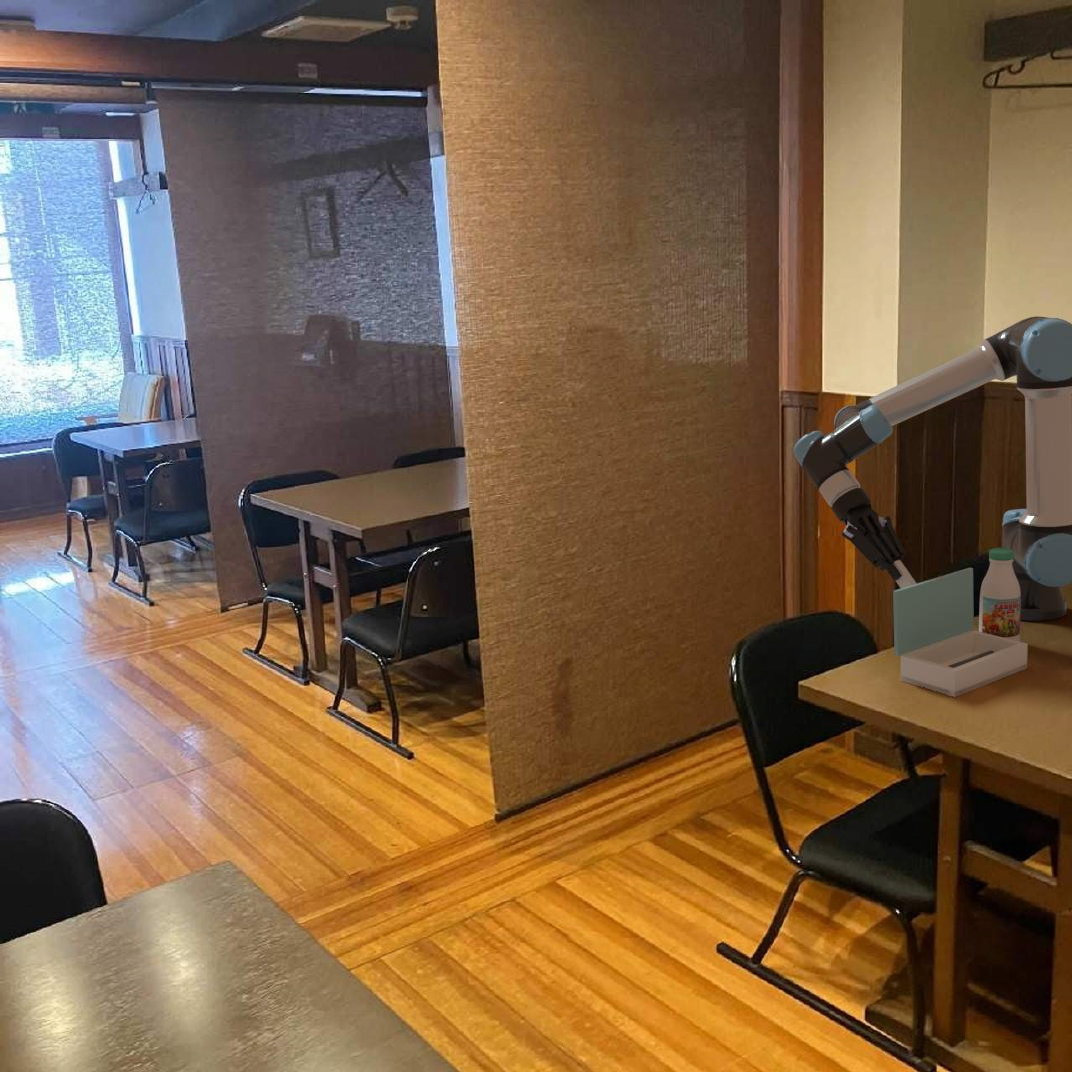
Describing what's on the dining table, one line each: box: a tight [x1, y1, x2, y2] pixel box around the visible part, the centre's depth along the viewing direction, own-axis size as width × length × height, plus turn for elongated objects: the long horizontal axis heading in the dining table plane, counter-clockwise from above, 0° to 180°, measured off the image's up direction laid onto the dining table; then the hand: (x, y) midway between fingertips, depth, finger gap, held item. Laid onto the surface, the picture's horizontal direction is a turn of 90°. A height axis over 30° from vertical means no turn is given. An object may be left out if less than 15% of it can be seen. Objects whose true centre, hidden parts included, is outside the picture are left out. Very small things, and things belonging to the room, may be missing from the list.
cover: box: [892, 567, 975, 657], centre depth 223 cm, size 23×13×1 cm
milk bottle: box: [978, 547, 1021, 642], centre depth 232 cm, size 8×8×20 cm
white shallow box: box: [900, 630, 1028, 698], centre depth 219 cm, size 22×12×5 cm, turn 124°
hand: (912, 590), depth 226 cm, fingers closed
